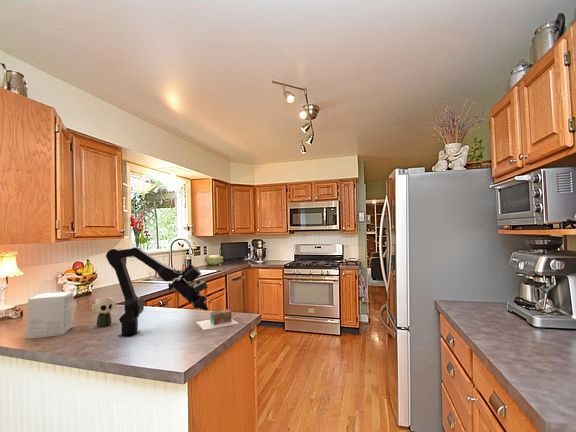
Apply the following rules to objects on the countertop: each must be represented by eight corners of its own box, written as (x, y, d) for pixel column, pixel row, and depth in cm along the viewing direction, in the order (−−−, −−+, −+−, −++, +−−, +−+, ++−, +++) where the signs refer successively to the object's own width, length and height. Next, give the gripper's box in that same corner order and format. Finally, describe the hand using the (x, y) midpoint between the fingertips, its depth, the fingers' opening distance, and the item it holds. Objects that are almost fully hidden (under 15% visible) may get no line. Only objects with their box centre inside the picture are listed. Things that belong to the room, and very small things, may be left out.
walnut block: (213, 314, 136) (231, 311, 141) (210, 311, 140) (228, 309, 145) (213, 324, 136) (231, 321, 140) (210, 322, 140) (228, 319, 145)
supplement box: (73, 326, 139) (74, 290, 140) (62, 335, 127) (64, 295, 128) (39, 330, 134) (41, 293, 135) (25, 339, 122) (27, 298, 123)
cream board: (203, 331, 129) (203, 329, 129) (196, 323, 141) (196, 322, 141) (238, 324, 138) (238, 323, 138) (228, 317, 150) (228, 316, 150)
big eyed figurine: (94, 329, 133) (95, 302, 134) (88, 327, 137) (89, 300, 138) (119, 323, 142) (119, 297, 143) (112, 321, 146) (113, 296, 147)
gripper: (202, 278, 128) (225, 300, 133) (192, 273, 144) (213, 293, 149) (183, 297, 123) (208, 319, 128) (175, 290, 139) (198, 310, 144)
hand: (207, 309), depth 137 cm, fingers closed
